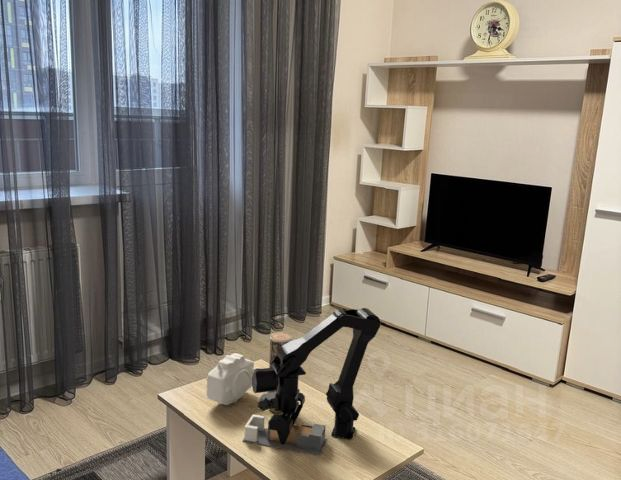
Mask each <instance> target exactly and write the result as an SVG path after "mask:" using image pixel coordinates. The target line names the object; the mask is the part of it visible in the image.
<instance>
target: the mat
mask: <svg viewBox="0 0 621 480" xmlns="http://www.w3.org/2000/svg"><path fill="white" fill-rule="evenodd" d="M267 431H268V428H266V427H264V430H263V431H260V430H258V440H257V442H253V441H247V440H244V438H243V439H242V443H249V444H254V445H259V446H264V447H270V448H271V447H272V448H276V449H282V450H287V451H293V452H298V453H305V454H310V455H314V456H315V455H316V456H320V457H321V456H322V453H323V450H324V448H325V446H326V443H327V438H325V441H324V444H323V446H322V449H321V452H316V451H310V450H305V449H299V448H297V445H294V444H289V443H285V444H284V445H283V444H281V443H280V442H277V441H272V440H267Z"/></svg>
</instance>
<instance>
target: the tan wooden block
mask: <svg viewBox="0 0 621 480" xmlns="http://www.w3.org/2000/svg"><path fill="white" fill-rule="evenodd" d="M267 429H268V428H267ZM311 429H312V428H309V427H303V426H302V425H297V424H294V425H293V427H292V429H291V431H290V433H289V435H288V438H287V440H286V442H285V443H289V444H294V445H297V434H304V435H309V434H310V431H311ZM267 440H272V441H277V442H280V440H279V437H278V433H277V431H276V430H270V429H268V431H267Z"/></svg>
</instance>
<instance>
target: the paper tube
mask: <svg viewBox="0 0 621 480" xmlns="http://www.w3.org/2000/svg"><path fill="white" fill-rule="evenodd" d="M269 339H270V340H269V364H268V365H269V366H268V368H271V366H270V363H271V362H272V361H273V359H274V358H275V357H276V355H277V354H278V350H279V348H280V347H281V346H283V345H284V344H286V343H288V342H290V341H292V340H293V338H292V335H291V334H290V333H286V332H275V333H272V334H270V337H269ZM279 365H280V367H281V368H282V366H283V365H282V364H281V363H280V364H279ZM278 385H279V377H278ZM271 392H278V387H277V390H275V391H271ZM271 392H268V393H271ZM269 410H270V411H271V412H273V413H276V414H280V411H274V408H272V409H269Z"/></svg>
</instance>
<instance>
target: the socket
mask: <svg viewBox="0 0 621 480" xmlns="http://www.w3.org/2000/svg"><path fill="white" fill-rule="evenodd" d="M264 428H265V415H258V414H254V413H253V414H252V415H251V416H250V418H249V419H248V421H247V422H246V424H245V426H244V437H243V439H244V440H247V441H253V442H257V440H258V430H260V431H263V430H264Z"/></svg>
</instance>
